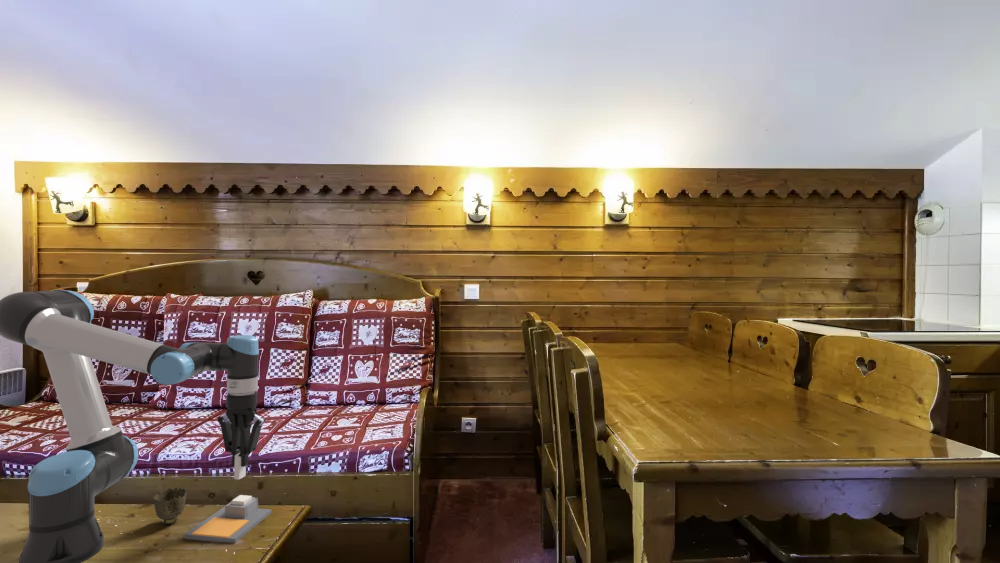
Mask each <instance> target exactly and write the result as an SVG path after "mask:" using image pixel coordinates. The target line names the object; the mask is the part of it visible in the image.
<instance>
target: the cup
mask: <svg viewBox="0 0 1000 563" xmlns="http://www.w3.org/2000/svg"><path fill="white" fill-rule="evenodd" d="M187 490H188V489H187V488H186V489H185V487H181V486H180V487H179V488H178V487H174V489H172V488H171V487H168V488H167V489H166V490H165V489H162V490H161V491H160V494H158V493H155V494H154V496H153V497H152V499H153V503H154V510H155V514H156V516H157V517H158V518H159V519H160V520H161V522H162V524H163V525H165V526H169V525H173V524H175V523H177V522H178V520H179V519H180V517H179V516H180V515H181V514H182V513H183V512H184V510H185V506H186V502H187V501H186V500H187V492H188V491H187Z"/></svg>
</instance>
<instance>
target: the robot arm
mask: <svg viewBox="0 0 1000 563" xmlns="http://www.w3.org/2000/svg"><path fill="white" fill-rule="evenodd" d="M94 315H95V311H94V307H93V304H92V303H91V302H90V300H89V299H88V298H87V297H86V296H85V295H83V294H81V293H79V292H76V291H72V290H66V289H64V290H63V289H51V290H40V291H39V290H38V291H20V292H16V293H11V294H9V295H6V296H5V297H3V298H1V299H0V336H1V337H3V338H5V339H7V340H9V341H12V342H16V343H18V344H22V345H26V346H30V347H32V348H33V349H36V350H38V351H41V353H43V356H44V359H45V363H46V366H47V369H48V371H49V375H50V378H51V381H52V385H53V387H54V391H55V393H56V396H57V400H58V403H59V406H60V409H61V413H62V414H63V418H64V421H65V424H66V427H67V430H68V433H69V437H70V441H69V443H68V444H67V446H66V447H65V451H64V452H61V453H59V454H53V455H51V456H49V457H47V458H44V459H43V460H41V461H39V462H38V463H37V464H35V465H34V466H33V467H32V468H31V469H30V472H29V475H28V482H27V487H26V488H27V491H28V535H27V537H26V540H25V543H24V546H23V549H22V552H21V553H20V555H19V557H18V563H81V562H82V563H84V562H86V561H88V560H90V559H91V558H92V557H94V556H95V555H97V554H98V553H99V552H100V551H101V550H102V549H104V546H105V537H104V533H103V532H102V530H101V527H100V523H99V522H98V520H97V518H96V517H95V497H96V496H98V495H100V493H102V492H104V491H106V490H107V489H108V488H110V487H111V486H113V485H114V484H115V485H116V484H117V483H119V482H120V481H122V480H123V479H124V478H125V477H126V476H128V475H129V474H130V473H131V472H132V471H133V470H134V469H135V466H136V465H137V463H138V460H139V448H138V446H137V443H136V442H135V440H133V439H132V438H129V437H128V436H126V435H124V434H123V430H122V428H120V427H117V426H115V425H113V424H112V421H111V417H110V414H109V411H108V408H107V406H106V403H105V398H104V396H103V393H102V389H101V387H100V382H99V380H98V377H97V374H96V371H95V368H94V365H93V364H94V363H93V360H96V361H101V362H104V363H107V364H112V365H115V366H119V367H122V368H125V369H126V368H127V369H129V370H132V371H133V370H134V371H137V372H140V373H144V374H148V375H151V376H152V378H153V380H155V382H157V383H159V384H161V385H165V386H170V385H171V386H172V385H175V384H179V383H182V382H184V381H187V380H188V379H191V378H193V377H195V376H197V375H200V374H202V373H205V372H207V371H208V372H217V371H218V372H224V371H226V393H227V394H226V395H225V396H226V402H225V406H226V408H227V409H226V410H225V414H223V415H220V416H219V417H217V422H218V423H219V426H220V428H221V433H222V434H221V435H222V439H223V446H224V450H225V452H226V453H231V455H232V457H231V460H232V463H231V464H232V467H233V466H234V470H233V471H234V473H233V474H234V475H233V476H234V477H233V479H234V480H237V481H238V480H241V479H242V478H244V477H246V475H247V474H246V472H247V471H246V469H247V466H248V464H249V457H250V456H249V455H250V454H251V453H253V452H255V451H256V450H257V446H258V443H259V442H258V441H259V438H260V435H261V430H262V426H263V425H264V423H265V422H266V418H265V417H260V416H259V415H258V410H257V405H258V392H257V391H258V388H259V385H258V384H259V383H258V382H259V374H258V373H259V354H260V351H259V339H258V337H257V336H255V335H248V334H244V335H241V334H240V335H231V336H229V337H228V338H227V342H223V343H221V342H219V343H218V342H200V341H194V342H185V343H183V344H181V345H180V347H179V348H177V347H174V346H169V345H166V344H163V343H159V342H156V341H153V340H148V339H146V338H143V337H139V336H135V335H132V334H128V333H124V332H121V331H118V330H115V329H112V328H107V327H104V326H101V325H98V324H93V323H92V320H93V319H94V317H95V316H94ZM92 359H93V360H92Z"/></svg>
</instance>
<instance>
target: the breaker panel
mask: <svg viewBox="0 0 1000 563" xmlns="http://www.w3.org/2000/svg"><path fill="white" fill-rule="evenodd" d="M271 513H272V509H270V508H269V509H268V508H259V497H254V496H252V500H251V501H250V502H249V503H247V504H246V505H245V506H241V505H232V501H230V502H229V503H228V504H225V505H224V506H222V508H221V509H218V511H215V513H213V514H211V515H210V516H209V517H207V518H206V519H204V520H203V521H201V522H200V523H198V524H197V525H196V526H194V527H193V528H191V529H190V530H189V531H187V532H186V533H185V534H184V539H185V540H193V541H203V542H218V543H231V544H232V543H234V542H236V543H237V542H238V541H239V539H240V538H241V537H242V538H244V536H245V535H247V534H248V533H249V532H251V531H252V530H253V529H254V528H255V527H256V526H257V525H259V524H260V523H261V522H262V521H264V520H265V519H266V518H267V517H268V516H270V515H271ZM253 527H254V528H253ZM252 528H253V529H252ZM247 532H248V533H247ZM246 533H247V534H246ZM242 538H241V539H242ZM241 539H240V540H241ZM234 544H235V543H234Z"/></svg>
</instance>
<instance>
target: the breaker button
mask: <svg viewBox="0 0 1000 563" xmlns="http://www.w3.org/2000/svg"><path fill="white" fill-rule="evenodd" d="M252 497H253V495H245V494H239V495H238V496H236V497H235V498H234V499H232V500H231V502H232V505H241V506H245V505H246V504H247V503H249V502H250V501H251V500H252Z"/></svg>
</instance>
